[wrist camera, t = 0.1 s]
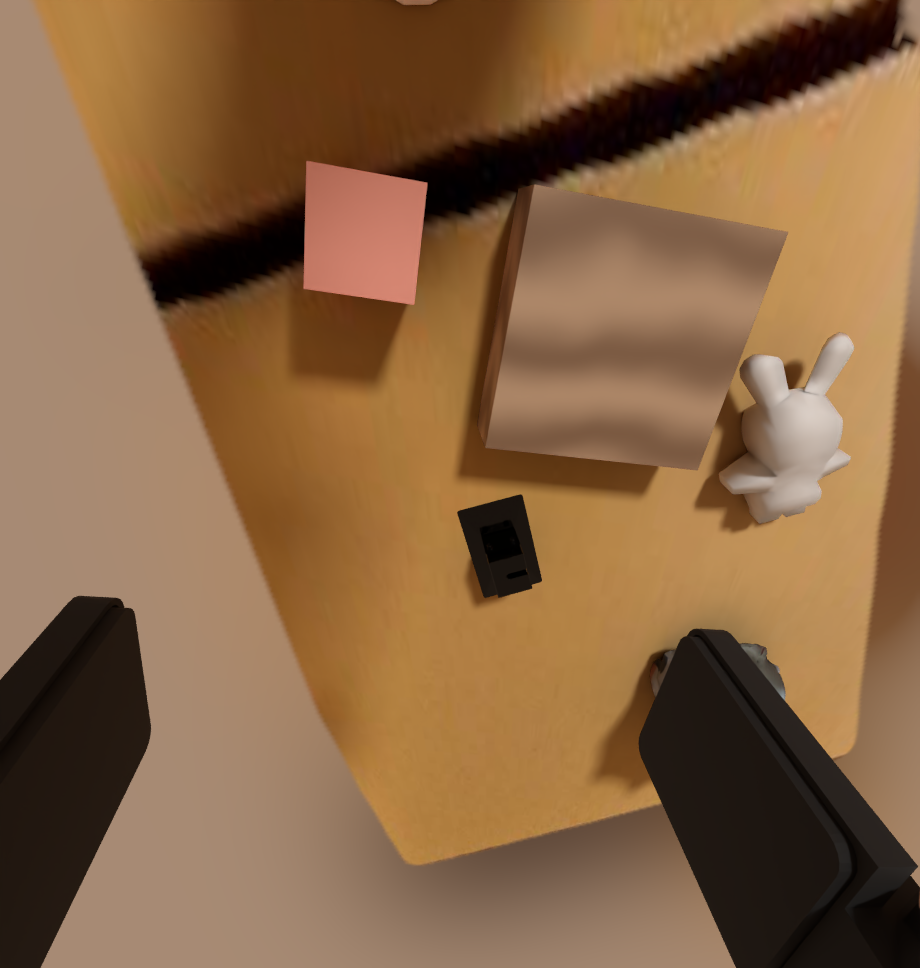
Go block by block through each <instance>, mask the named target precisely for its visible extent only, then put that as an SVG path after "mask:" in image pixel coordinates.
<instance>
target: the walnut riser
mask: <svg viewBox="0 0 920 968" xmlns="http://www.w3.org/2000/svg"><path fill="white" fill-rule="evenodd" d="M787 235H788V232H785V231H780V230H774V229H769V228H764V227H758V226H753V225H748V224H742V223H737V222H732V221H726V220H721V219H716V218H710V217H705V216H700V215H694V214H689V213H683V212H678V211H673V210H667V209H662V208H657V207H651V206H646V205H641V204H635V203H630V202H625V201H619V200H614V199H609V198H603V197H598V196H593V195H587V194H582V193H576V192H571V191H566V190H560V189H555V188H550V187H544V186H539V185H531V186H528V187H524V188H520V189H518V194H517V199H516V205H515V211H514V217H513V222H512V228H511V234H510V239H509V245H508V251H507V257H506V262H505V268H504V274H503V279H502V285H501V291H500V297H499V302H498V308H497V314H496V319H495V325H494V331H493V337H492V342H491V348H490V354H489V359H488V365H487V371H486V376H485V382H484V388H483V394H482V399H481V405H480V411H479V416H478V422H477V426H478V429H479V432H480V435H481V437H482V440H483V443H484V446H485V448H491V449H501V450H510V451H520V452H529V453H538V454H548V455H557V456H567V457H576V458H586V459H595V460H605V461H614V462H624V463H633V464H643V465H652V466H661V467H671V468H680V469H690V470H698V468H699V465H700V463H701V460H702V457H703V455H704V452H705V449H706V447H707V444H708V442H709V439H710V436H711V434H712V431H713V428H714V426H715V423H716V421H717V418H718V415H719V413H720V410H721V407H722V405H723V402H724V400H725V397H726V394H727V392H728V389H729V387H730V384H731V381H732V379H733V376H734V373H735V371H736V368H737V366H738V363H739V360H740V358H741V355H742V352H743V350H744V347H745V345H746V342H747V339H748V337H749V334H750V332H751V329H752V326H753V324H754V321H755V318H756V316H757V313H758V311H759V308H760V305H761V303H762V300H763V297H764V295H765V292H766V290H767V287H768V284H769V282H770V279H771V277H772V274H773V271H774V269H775V266H776V263H777V261H778V258H779V256H780V253H781V250H782V248H783V245H784V242H785V240H786V237H787Z"/></svg>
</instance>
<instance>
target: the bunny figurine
mask: <svg viewBox="0 0 920 968" xmlns="http://www.w3.org/2000/svg"><path fill="white" fill-rule="evenodd" d="M853 350H854V346H853V344H852V341H851V340H850V338H849V337H848V336H847V334H844V333H840V332H839V333H837V334H834V335H833V336H831V337H830V338H828V339H827V341H826V342H825V344H824V345H823V347H822V349H821V352H820V354H819V356H818V358H817V361H816V363H815V365H814V368H813V370H812V372H811V374H810V376H809V379H808V381H807V383H806V385H805V387H803V388H796V389H789V390H788V385H787V380H786V376H785V371H784V366H783V362H782V361H781V360H780V359H779V358H778V357H773V356H767V355H761V354H756V355H752V356H751V357H749V358H747V359H746V360H744V362H743V364H742V365H741V367H740V378H741V379H742V381H743V382H744V384H745V385H746V387H747V389H748V390H749V392H750V393H751V395H752V396H753V398H754V400H755V401H756V404H754V405H753V406H751V407H749V408H747V409H745V410H744V414H743V418H742V437H743V441H744V444H745V446H746V448H747V451H748V452H747V453H745V454H744V455H743V456H742V457H740V458H739V459H738V460H736V461H735V462H733V463H732V464H731V465H729V466H728V467H726V468H725V469H724V470H722V471H721V472H719V479H720V482H721V483H722V484H723V485H724V486H725V487H726V488H727V489H728V490H729V491H730V492H731V493H732V494H743V495H744V497H745V499H746V502H747V504H748V506H749V514H750V515H751V516H752V517H753V518H754V519H755V520H756V521H757V522H758V523H759V524H760V523H764V522H768V521H772V520H776V519H778V518H779V517H780V516H781V514H783V515H784V516H785V517H788V516H792V515H796V514H800V513H804V512H805V507H806V506H809V505H812V504H815V503H816V502H817V501H818V500H819V499H820V498H821V489H820V487H819V485H818V483H817V481H818V480H820V479H821V478H823V477H825V476H826V475H828V474H830V473H832V472H834V471H836V470H838V469H840V468H842V467H844V466H846V465H848V463H849V461H850V459H851V457H850V456H849V455H847V454H846V453H844V452H843V451H841V450H840V449H838V448H837V447H838V445H839V442H840V439H841V435H842V424H843V419H842V418H841V416H840V415H839V413H838V412H837V411H836V409H835V408H834V406H833V405H832V404H831V402H830V401H829V399H828V398H827V397H826V395H825V393H826V392H827V390H828V389H829V387H830V386H831V384H832V383H833V382H834V380H835V379H836V377H837V376H838V374H839V373H840V371H841V370H842V368H843V367H844V365H845V364H846V362H847V361H848V359H849V358H850V356H851V354H852V352H853Z"/></svg>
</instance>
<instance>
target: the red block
mask: <svg viewBox="0 0 920 968" xmlns="http://www.w3.org/2000/svg"><path fill="white" fill-rule="evenodd" d="M426 192H427V183H426V182H421V181H415V180H410V179H404V178H399V177H393V176H388V175H382V174H377V173H371V172H366V171H360V170H355V169H349V168H344V167H338V166H333V165H327V164H322V163H316V162H311V161H306V203H305V249H304V289H309V290H316V291H323V292H329V293H336V294H343V295H350V296H357V297H364V298H371V299H378V300H385V301H392V302H398V303H405V304H412V305H414V302H415V293H416V284H417V275H418V266H419V256H420V247H421V238H422V229H423V220H424V211H425V201H426Z"/></svg>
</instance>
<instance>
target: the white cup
mask: <svg viewBox="0 0 920 968" xmlns="http://www.w3.org/2000/svg"><path fill="white" fill-rule="evenodd" d="M396 1H397V2H399V3H401V4H403V5H431V4H433V3H434V2H436V1H437V0H396Z"/></svg>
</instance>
